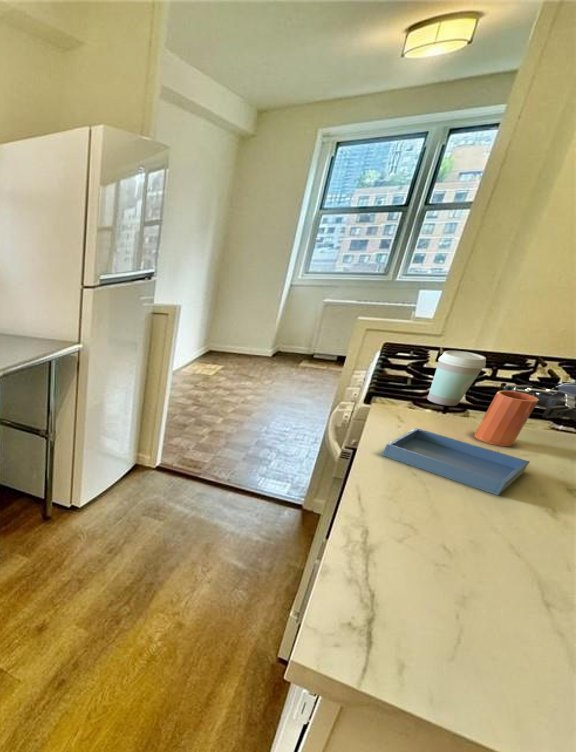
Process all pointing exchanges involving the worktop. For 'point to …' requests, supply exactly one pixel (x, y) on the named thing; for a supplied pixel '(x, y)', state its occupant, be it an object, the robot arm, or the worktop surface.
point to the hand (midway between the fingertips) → (521, 404)
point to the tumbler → (505, 417)
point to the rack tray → (456, 460)
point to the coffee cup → (454, 376)
